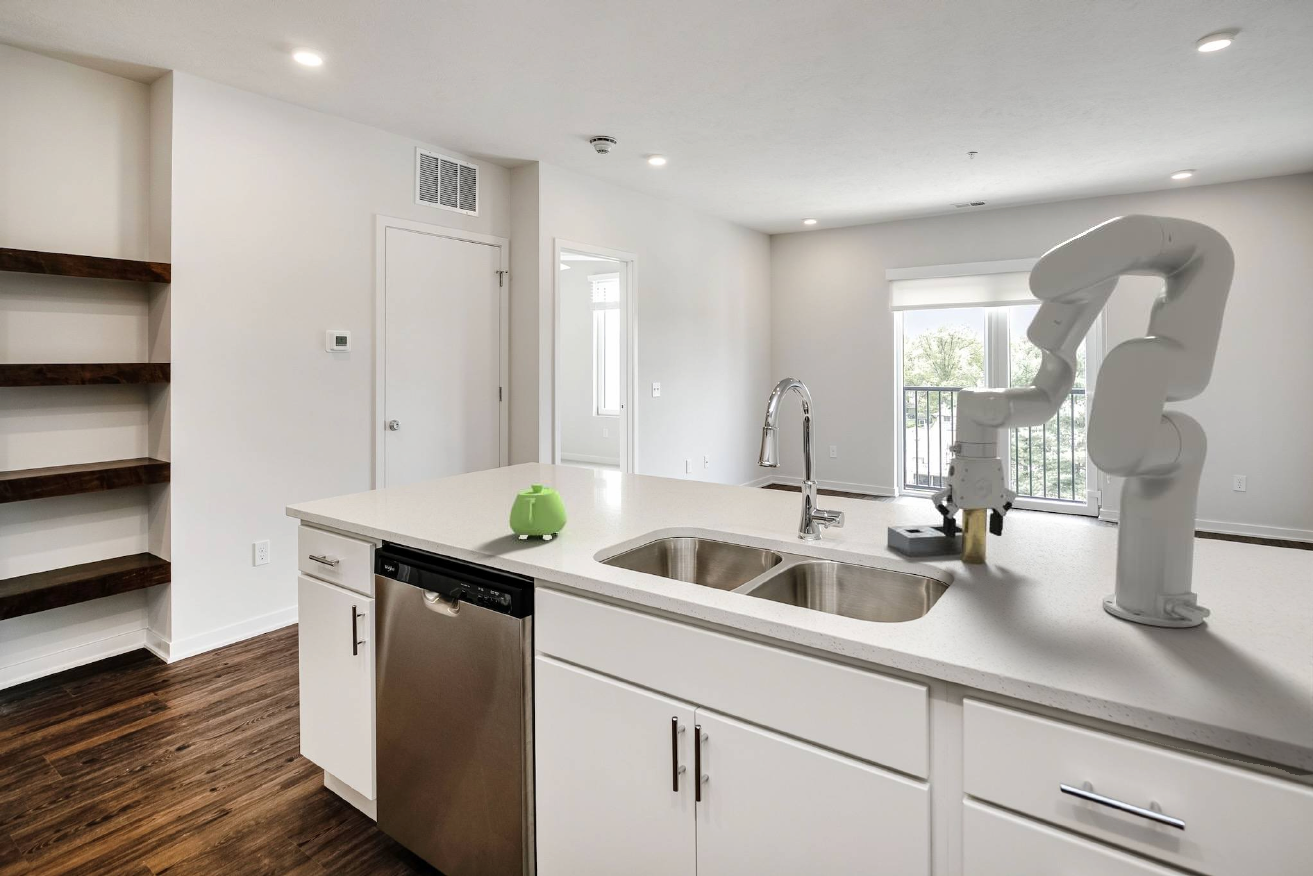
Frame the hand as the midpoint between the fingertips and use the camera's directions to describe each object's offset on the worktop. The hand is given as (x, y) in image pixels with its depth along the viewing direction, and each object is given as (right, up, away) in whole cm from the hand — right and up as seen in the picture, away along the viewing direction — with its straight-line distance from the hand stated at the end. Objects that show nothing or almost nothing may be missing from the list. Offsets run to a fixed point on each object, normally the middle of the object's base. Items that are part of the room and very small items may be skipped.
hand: (972, 535), depth 137 cm
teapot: (-92, -4, +29) cm, 96 cm away
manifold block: (-4, -4, +10) cm, 11 cm away
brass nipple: (0, -5, 0) cm, 5 cm away
